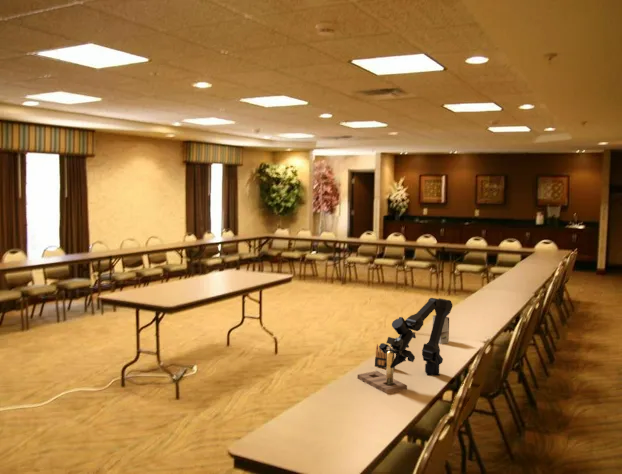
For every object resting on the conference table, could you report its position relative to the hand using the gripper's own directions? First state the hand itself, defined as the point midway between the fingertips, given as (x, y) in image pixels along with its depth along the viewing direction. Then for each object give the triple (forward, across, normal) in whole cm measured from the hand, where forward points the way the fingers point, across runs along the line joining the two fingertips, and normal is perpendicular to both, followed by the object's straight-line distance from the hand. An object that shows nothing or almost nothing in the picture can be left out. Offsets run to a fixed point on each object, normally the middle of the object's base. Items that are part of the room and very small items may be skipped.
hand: (388, 366), depth 266 cm
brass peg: (+5, 0, +7) cm, 9 cm away
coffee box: (-54, -35, +70) cm, 95 cm away
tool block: (+6, -6, +9) cm, 12 cm away
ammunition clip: (-8, -22, +24) cm, 33 cm away
